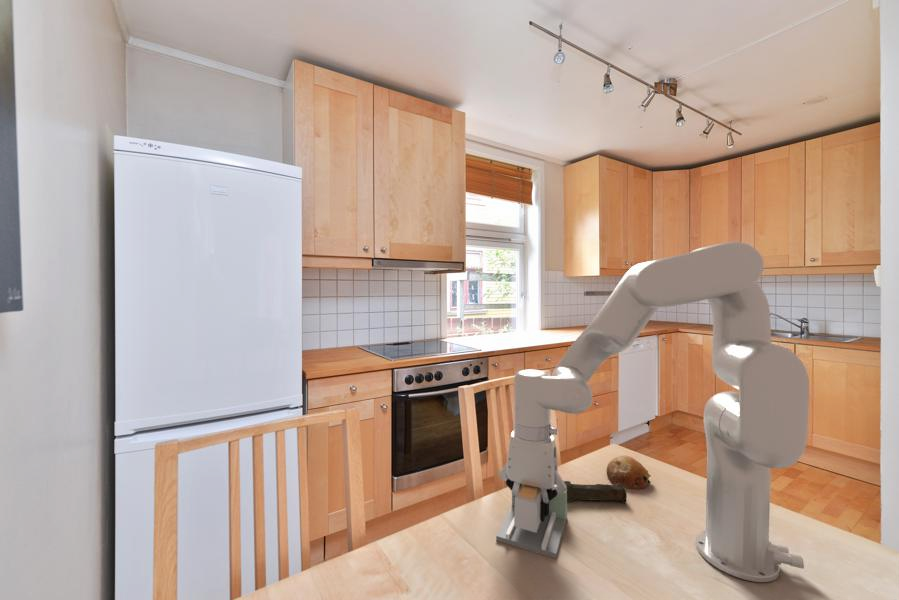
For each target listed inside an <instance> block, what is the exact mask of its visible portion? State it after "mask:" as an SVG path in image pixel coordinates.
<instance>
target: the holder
mask: <svg viewBox="0 0 899 600" xmlns="http://www.w3.org/2000/svg"><path fill="white" fill-rule="evenodd" d="M541 501H542V494H541V490H540V488H538V487H534V486H530V485H525V484H521V486H520V488H519V490H518V492H517V494H516V496H515V499H514V526H515V527H518V528H522V529H525V530H529V531H532V532H536V533H537V530H538V528H539V525H540V522H541V520H540V513H541Z"/></svg>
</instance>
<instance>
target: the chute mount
mask: <svg viewBox="0 0 899 600" xmlns="http://www.w3.org/2000/svg"><path fill="white" fill-rule="evenodd" d="M556 486H557V485H555V484H554V487H556ZM567 518H568V502H567V489H566V491H565V492H564V493H561V494H559V495H557V496H556V497H554V498H553V499H552V500H550V501H549V515H548V516H546V517H545V520H544V522H542V521H541V522H540V525H539V528H538V530H537V533H536V532H532V531H529V530H525V529H522V528H518V527H515V526H514V495H513V494H512V493H511V507H510V509H509V511H508V513H507V515H506V516H505V518H504V521H503V522H502V524H501V526H500V528H499V530H498V532H497V533H496V535H495V536H496V538H495V540H496V542H500V543H502V544H507V545H509V546H512V547H515V548H516V547H517V548H519V549H522V550H526V551H529V552H532V553H536V554H539V555H542V556H546V557H548V558H551V559H552V558H553V559H557V556H558V553H559V549H560V546H561V541H562V538H563V534H564V530H565V526H566V523H567Z"/></svg>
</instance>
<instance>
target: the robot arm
mask: <svg viewBox="0 0 899 600" xmlns="http://www.w3.org/2000/svg"><path fill="white" fill-rule="evenodd" d="M764 263H765V262H764V259H763V256H762V255H761V253H760V252H759V251H758V249H756V247H753V246H752V245H750V244H747V243H745V242H741V241H740V242H739V241H729V242H727V241H726V242H721V243H717V244H713V245H707V246H703V247H698V248H696V249H694V250H692V251H690V252H687V253H683V254H678V255H674V256H669V257H664V258H659V259H655V260H647V261H643V262H639V263H637V264H635V265H633V266H632V267H630V268H629V270H627V272H625V273H624V275H623V276H622V277H621V279H620V281H619V282H618V284H617V285H616V287H614V289H613V291H612V293H610V294H609V296H608V298H607V299H606V301H605V303H603V305H602V306H601V308H600V309H599V311H598V312H597V313H596V315H595V317H594V318H593V319H592V321H590V322H589V324H588V325H587V326H586V327H585V329H584V330H583V331H582V332H581V334H580V335H579V336H578V337H577V338H576V340H574V342H572V344H571V345H570V347H569V348H568V349H567V350H566V352H565V353H564V355H563V356H562V358H561V359H560V360H559V362H558V363H557V364H556V366H555V368H554V370H552V373H551V375H550V374H549V373H547V372H545V371H543V370H540V369H539V370H538V369H523V370H519V371H517V372H516V373H515V375H514V379H513V380H514V381H513V382H514V383H513V385H514V387H513V389H514V392H513V395H514V396H513V397H514V398H513V402H514V403H513V430H512V432H511V433H510V438H509V442H508V448H507V450H508V451H507V459H506V464H505V465H504V466H503V467H502V468H501V470H500V471H499V473H498V477H499V478H500V479H501V480H502V481H503V482H504V483H505V484H506V486H507V487H508V488H509V489H510V491H511V495H512V494H513V495H514V499H515V496H516V494H517V492H518V490H519V488H520V486H521V484H525V485H530V486H534V487H538V488H540V490H541V494H542V501H541V513H540V520H541V521H542V522H544V520H545V517H546V516H548V515H549V501H550V500H552V499H553V498H554V497H556V496H557V495H559V494H561V493H564V492H565V491H566V489H567V486H566V484H565V483H564V481H565V480H563V478H562V476H561V475H560V474H559V471H558V470H559V469H558V468H559V467H558V454H557V453H558V452H557V445H556V440H555V439H556V438H555V437H554V436H555V435H556V436H557V435H558V433H559V430H558V428H557V427H554V426H553V425H552V422H551V419H552V418H551V416H552V415H551V413H552V411H557V412H561V413H565V414H573V415H577V414H578V415H579V414H580V413H584V412H585V411H587V410H588V409H589V408H590V407H591V405H592V402H593V391H592V389H591V386H590V385H589V381H590V379H591V378H592V377H593V375H594V374H595V373H596V371H597V370H598V369H599V368H600V366H601V365H602V364H603V363H604V362H605V361H606V360H608V359H609V358H611V357H612V356H614V355H616V354H619V353H621V352H623V351H625V350H627V349H629V348H630V347H631V346H632V345H633V343H634V342H635V341H636V339H637V338H638V336H639V335H640V334H641V332H642V331H643V329H644V328H645V327H646V326H647V324H648V322H650V320H651V319H652V318H653V316H654V315H655V314H656V312H657V311H658V309H659V308H669V307H670V308H671V307H676V306H681V305H688V304H692V303H697V302H700V301H705V300H707V302H708V304H709V305H710V308H711V313H712V314H711V315H712V349H711V350H712V352H711V365H712V371H713V372H714V373H713V374H715V375H716V377H717V378H718V379H719V380H721V381H722V382H723V383H725V384H727V385H729V386H731V387H732V388H734V389H736V390H738V391H732V390H728V391H722V392H718V393H716V394H714V395H713V396H711V397H710V398H709V399H708V400H707V402H706V404H705V406H704V409H703V415H702V417H703V418H702V419H703V427H704V428H703V429H704V434H705V439H706V455H707V457H706V462H707V463H706V491H705V492H706V493H705V494H706V496H705V497H706V498H705V500H706V501H705V502H706V503H705V506H706V507H705V510H706V511H705V530H704V531H701V532H700V533H698V534H697V535H696V538H695V545H696V549H697V551H698V552H699V554H700V555H701V556H702V557H703V559H705V560H706V561H707V562H708V563H709V564H711V565H712V566H713V567H715V568H717V569H719V571H720V570H721V571H722V572H724V573H726V574H728V575H730V576H733V577H736V578H738V579H742V580H745V581H750V582H754V583H768V582H773V581H775V580H776V579H778V577H779V575H780V566H782V564H783V565H787V566H788V565H789V566H791V567H794V568H799V569H802V570H803V569H804V568H805V562H804V559H803V557H802V556H801V555H798V554H794V553H790V550H789V548H788V547H787V546H784V545H780V544H778V545H777V544H774V543H772V542H771V541H770V540H769V539H770V513H771V511H770V509H771V506H770V504H771V485H772V484H771V482H772V481H771V480H772V479H771V478H772V477H771V475H772V474H771V469H777V470H780V469H785V468H788V467H791V466H792V465H794V464H796V463H797V462H798V461H799V460H800V459H801V457H802V456H803V454H804V452H805V449H806V446H807V442H808V430H809V410H810V409H809V408H810V403H809V402H810V380H809V379H810V378H809V374H808V371H807V368H806V367H805V365H804V363H803V361H802V360H801V358H800V357H799V356H798V355H797V354H795V352H793V351H791V350H790V349H788V348H786V347H784V346H781V345H780V344H779V345H778V344H775V343H772V330H771V327H772V326H771V313H770V311H771V310H770V305H769V302H768V299H767V295H766V294H765V292H764V290H763V289H762V287H761V286H760V284H759V282H758V281H759V280H760V278H761V276H762V274H763V272H764V269H765V268H764V266H765V265H764ZM551 410H552V411H551ZM554 483H556V485H557V486H556V487H554Z"/></svg>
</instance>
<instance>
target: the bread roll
mask: <svg viewBox="0 0 899 600" xmlns="http://www.w3.org/2000/svg"><path fill="white" fill-rule="evenodd" d="M606 476H607V478H608V479H609V481H611V482H612V483H613V484H614V485H616V484H619V483H620V484H623V486H624V487H625V489H630V490H631V489H633V490H641V489H645V488H646V487H647V485H648V484H651V483H652V482H651V480H650V477H651V474H650V473H649V471H648V469H646V468H645V466H644V465H643V464H642V463H641V462H639V461H638V460H636V459H635V458H634V457H633V456H630V455H618V456H616V457H614V458H612V459H611V460H610V461H609V463H607V467H606Z"/></svg>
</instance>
